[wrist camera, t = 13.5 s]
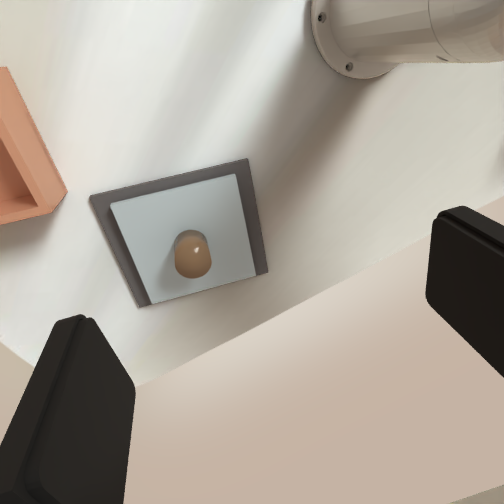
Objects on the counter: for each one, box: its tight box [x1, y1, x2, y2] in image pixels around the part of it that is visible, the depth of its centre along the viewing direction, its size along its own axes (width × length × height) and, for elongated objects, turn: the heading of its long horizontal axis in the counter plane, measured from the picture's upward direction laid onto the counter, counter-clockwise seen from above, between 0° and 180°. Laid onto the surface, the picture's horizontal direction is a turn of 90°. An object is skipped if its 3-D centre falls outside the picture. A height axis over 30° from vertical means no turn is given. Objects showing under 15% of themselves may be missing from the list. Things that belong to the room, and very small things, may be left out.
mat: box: [89, 159, 268, 307], centre depth 42 cm, size 18×16×1 cm
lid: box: [110, 174, 256, 304], centre depth 39 cm, size 14×14×6 cm
